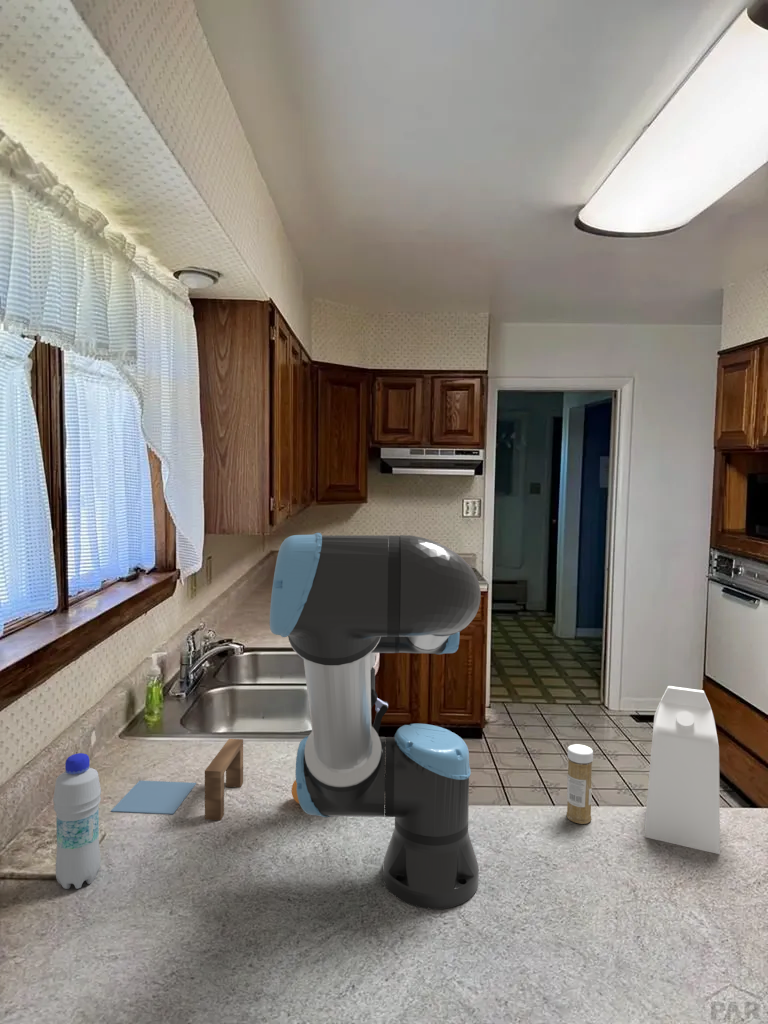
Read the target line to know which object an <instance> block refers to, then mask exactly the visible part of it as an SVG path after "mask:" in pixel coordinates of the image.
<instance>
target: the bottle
mask: <svg viewBox="0 0 768 1024" xmlns="http://www.w3.org/2000/svg"><path fill="white" fill-rule="evenodd" d="M64 765H65V771H64V772H62V773H61V774H59V775H58V776H57V777H56V779H55V783H54V784H55V786H54V792H53V799H52V802H53V805H54V806H53V811H54V812H55V814H56V817H55V819H56V855H55V856H56V857H55V877H56V878H55V879H56V882H57V883H58V884H60V885H61V887H62V888H63V889H65V890H69V889H70V888H71V885H74V888H75V889H78V890H79V889H81V888H82V886H83V883H84V882H85V881H86V884H87V885H89V884H91V883H93V882H94V881H95V878H96V876H97V875H98V874H99V872H100V869H101V849H100V847H101V846H100V840H99V839H100V837H99V835H100V832H99V831H100V830H99V829H100V828H99V824H100V823H99V820H100V819H99V818H100V817H99V815H100V814H99V813H100V812H99V809H100V808H99V805H100V803H101V800H102V799H101V795H102V788H101V783H100V777H99V772H98V770H97V769H95V768H93V767H90V756H89V755H88V754H86V753H82V752H80V753H79V752H78V753H74V754H71V755H69V756H68V757H67V758H66V760H65V764H64Z"/></svg>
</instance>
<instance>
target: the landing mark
mask: <svg viewBox="0 0 768 1024" xmlns="http://www.w3.org/2000/svg"><path fill="white" fill-rule="evenodd" d="M196 785H197V782H189V781H188V782H186V781H185V782H183V781H166V780H165V781H161V780H159V781H158V780H141V779H140V780H138V782H137V783H136V784H134V786H133V787H132V788H131V789H130V790H129V791H128V792H127V793H126V794H125V795H124V796H123V798H122V799H120V800H119V801H118V802H117V804H116V805H114V807H113V808H111V810H110V812H112V813H129V814H130V813H132V814H134V813H136V814H153V815H154V814H156V815H157V814H158V815H174V814H175V812H176V811H178V809H179V808H180V806H181V804H182V803H183V802H184V801H185V799H186V798H187V797H188V796H189V794H190V793H191V792H192V790H193V789H194V787H196Z"/></svg>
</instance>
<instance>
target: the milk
mask: <svg viewBox="0 0 768 1024" xmlns="http://www.w3.org/2000/svg"><path fill="white" fill-rule="evenodd" d="M660 699H661V700H660V701H659V703H658V706H657V708H656V710H655V713H654V716H653V727H652V738H651V739H652V740H651V750H650V761H649V770H648V771H649V774H648V785H647V786H648V787H647V795H646V807H645V808H646V809H645V820H644V821H645V822H644V832H643V833H644V834H643V838H647V839H651V840H655V841H661V842H665V843H668V844H674V845H678V846H682V847H687V848H690V849H695V850H700V851H703V852H708V853H713V854H717V855H721V838H720V837H721V836H720V835H721V832H720V831H721V829H720V828H721V823H720V821H721V819H720V818H721V816H720V815H721V814H720V801H721V800H720V746H719V738H718V734H717V733H718V732H717V726H716V721H715V716H714V712H713V710H712V707H711V704H710V702H709V700H708V697H707V695H706V692H705V690H704V689H703V690H702V689H696V688H695V689H694V688H690V687H688V688H687V687H680V686H673V685H668V686H667V687H666V689H665V691H664V692H663V694H662V697H661V698H660Z"/></svg>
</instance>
